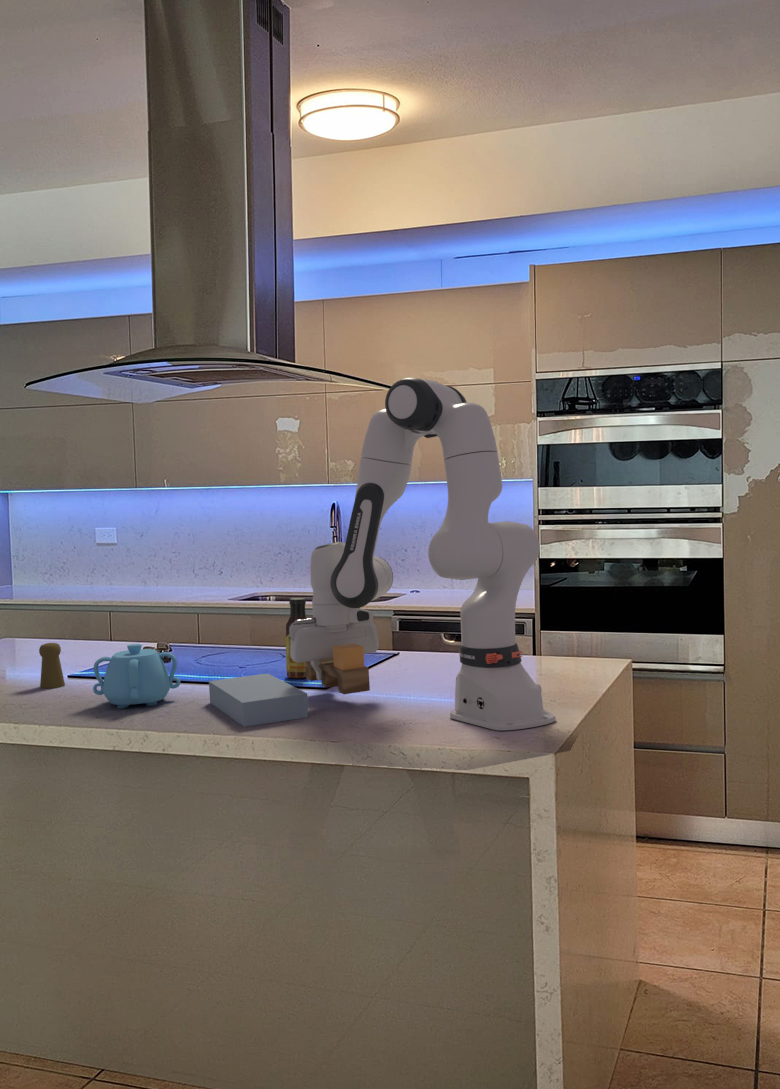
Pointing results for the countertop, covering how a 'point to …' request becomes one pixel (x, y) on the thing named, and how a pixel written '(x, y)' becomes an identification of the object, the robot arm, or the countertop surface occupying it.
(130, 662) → the decorative pot
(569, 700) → the countertop surface
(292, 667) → the sauce bottle
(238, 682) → the block
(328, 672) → the walnut pallet
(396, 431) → the robot arm
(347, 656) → the orange crate
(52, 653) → the cork
